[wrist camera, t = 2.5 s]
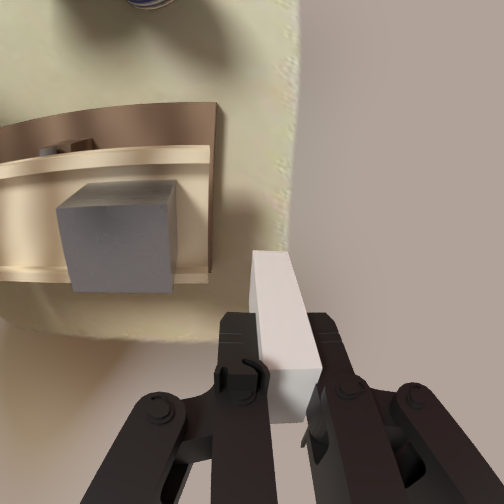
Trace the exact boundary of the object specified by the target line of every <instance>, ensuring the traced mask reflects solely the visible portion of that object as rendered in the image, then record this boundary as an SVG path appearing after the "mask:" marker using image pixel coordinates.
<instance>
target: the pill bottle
mask: <svg viewBox="0 0 504 504" xmlns="http://www.w3.org/2000/svg"><path fill="white" fill-rule="evenodd" d="M127 1H128V2H129V3H130V4H131V5H133V6H135V7H137V8H140V9H146V10H147V9H156V8H160V7H163V6H165V5H167V4H169V3H171V2H172V1H174V0H127Z"/></svg>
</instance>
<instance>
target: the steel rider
mask: <svg viewBox="0 0 504 504" xmlns="http://www.w3.org/2000/svg"><path fill="white" fill-rule="evenodd" d="M56 215H57V221H58V226H59V232H60V237H61V242H62V247H63V252H64V257H65V261H66V265H67V270H68V274H69V278H70V281H71V285H72V289H73V292H101V293H173V286H174V278H175V270H176V262H177V255H178V239H177V207H176V179H170V180H136V181H115V182H99V183H87V184H86V185H85V186H83V187H82V188H81V189H79V190H78V191H77V192H76V193H74V194H73V195H72V196H70V197H69V198H68V199H67V200H65V201H64V202H63V203H62V204H61V205H59V206H58V207H57V208H56Z"/></svg>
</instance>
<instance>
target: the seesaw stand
mask: <svg viewBox="0 0 504 504" xmlns="http://www.w3.org/2000/svg"><path fill="white" fill-rule="evenodd" d="M216 109H217V103H216V102H176V103H152V104H136V105H124V106H114V107H105V108H97V109H89V110H82V111H75V112H69V113H63V114H58V115H52V116H47V117H42V118H38V119H33V120H29V121H24V122H20V123H16V124H12V125H8V126H5V127H1V128H0V164H1V163H6V162H11V161H17V160H22V159H28V158H34V157H40V151H39V150H40V149H43V148H47V147H53V146H57V154H62V153H70V152H79V151H88V150H99V149H111V148H125V147H142V146H169V145H209V146H210V163H209V190H208V273H211V270H212V218H213V178H214V150H215V128H216Z"/></svg>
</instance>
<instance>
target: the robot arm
mask: <svg viewBox="0 0 504 504" xmlns="http://www.w3.org/2000/svg"><path fill="white" fill-rule="evenodd" d="M305 415H306V416H307V421H308V428H307V430H306V433H305V435H304V437H303V439H302V441H301V448H302V447H305V445H306V443H307V449H308V455H309V461H310V467H311V472H312V479H313V485H314V491H315V497H316V504H504V485H503V484H502V482H501V481H500V480H499V478H498V477H497V475H496V474H495V473H494V471H493V470H492V468H491V467H490V466H489V464H488V463H487V462H486V460H485V459H484V458H483V456H482V455H481V454H480V452H479V451H478V450H477V448H476V447H475V446H474V444H473V443H472V442H471V440H470V439H469V438H468V437H467V435H466V434H465V433H464V431H463V430H462V429H461V428H460V426H459V425H458V424H457V423H456V421H455V420H454V419H453V417H452V416H451V415H450V414H449V412H448V411H447V410H446V409H445V407H444V406H443V405H442V404H441V402H440V401H439V400H438V399H437V398H436V396H435V395H434V394H433V393H432V391H431V390H429V389H428V388H427V387H426V386H424V385H421V384H420V383H413V382H411V383H406V384H404V385H402V386H401V387H400V388H399V389H398V391H397V392H390V391H382V390H377V389H373V388H370V387H369V386H368V384H367V383H366V381H365V380H363V379H362V378H361V377H360V376H357V375H355V373H354V371H353V368H352V366H351V363H350V360H349V358H348V355H347V352H346V350H345V347H344V344H343V343H342V339H341V337H340V334H339V333H338V329H337V327H336V324H335V322H334V321H333V320H332V319H331V318H330V317H329V316H328V315H327V314H326V313H306V310H305V306H304V303H303V300H302V296H301V294H300V290H299V287H298V283H297V281H296V277H295V274H294V271H293V268H292V264H291V261H290V258H289V255H288V252H280V251H257V250H253V253H252V266H251V280H250V293H249V313H241V312H227V313H226V314H225V315H224V317H223V318H222V319H221V321H220V332H219V348H218V363H217V366H216V369H215V372H214V385H213V387H212V388H211V389H210V390H209V391H207V392H206V393H204V394H202V395H200V396H196V397H193V398H187V399H182V400H180V399H179V398H178V397H176V396H174V395H172V394H170V393H165V392H154V393H149V394H147V395H145V396H143V397H142V398H141V399H140V400H139V401H138V402H137V403H136V405H135V406H134V408H133V410H132V411H131V413H130V415H129V417H128V418H127V420H126V422H125V423H124V425H123V427H122V429H121V430H120V432H119V434H118V436H117V438H116V439H115V441H114V443H113V445H112V446H111V448H110V450H109V452H108V453H107V455H106V457H105V459H104V461H103V462H102V464H101V466H100V468H99V469H98V471H97V473H96V475H95V477H94V479H93V480H92V482H91V484H90V486H89V488H88V489H87V491H86V493H85V495H84V497H83V499H82V500H81V502H80V504H178V502H179V499H180V496H181V494H182V491H183V489H184V486H185V483H186V481H187V478H188V476H189V473H190V470H191V468H192V465H193V463H194V462H199V461H203V460H208V459H212V470H211V471H212V472H211V504H278V501H277V491H276V481H275V471H274V460H273V450H272V440H271V431H270V424H276V423H277V424H278V423H298V422H303V420H304V418H305Z"/></svg>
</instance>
